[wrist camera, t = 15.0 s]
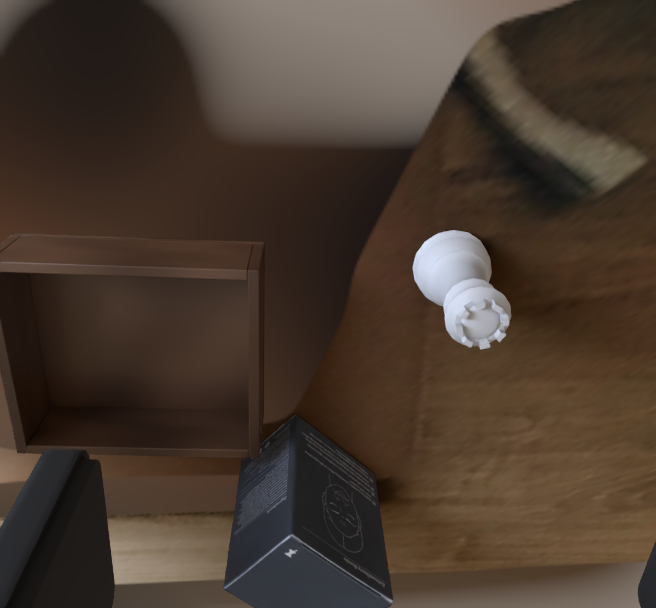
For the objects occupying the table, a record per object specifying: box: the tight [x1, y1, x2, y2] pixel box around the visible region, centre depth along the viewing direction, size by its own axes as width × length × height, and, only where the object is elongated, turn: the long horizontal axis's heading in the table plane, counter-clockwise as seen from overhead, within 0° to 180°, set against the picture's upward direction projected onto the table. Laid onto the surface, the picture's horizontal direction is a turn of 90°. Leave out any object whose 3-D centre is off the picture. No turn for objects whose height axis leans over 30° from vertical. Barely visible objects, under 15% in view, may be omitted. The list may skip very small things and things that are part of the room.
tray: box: [0, 233, 264, 458], centre depth 36 cm, size 14×12×4 cm
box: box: [224, 415, 393, 608], centre depth 38 cm, size 8×6×11 cm
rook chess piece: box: [413, 230, 511, 349], centre depth 33 cm, size 4×4×8 cm
